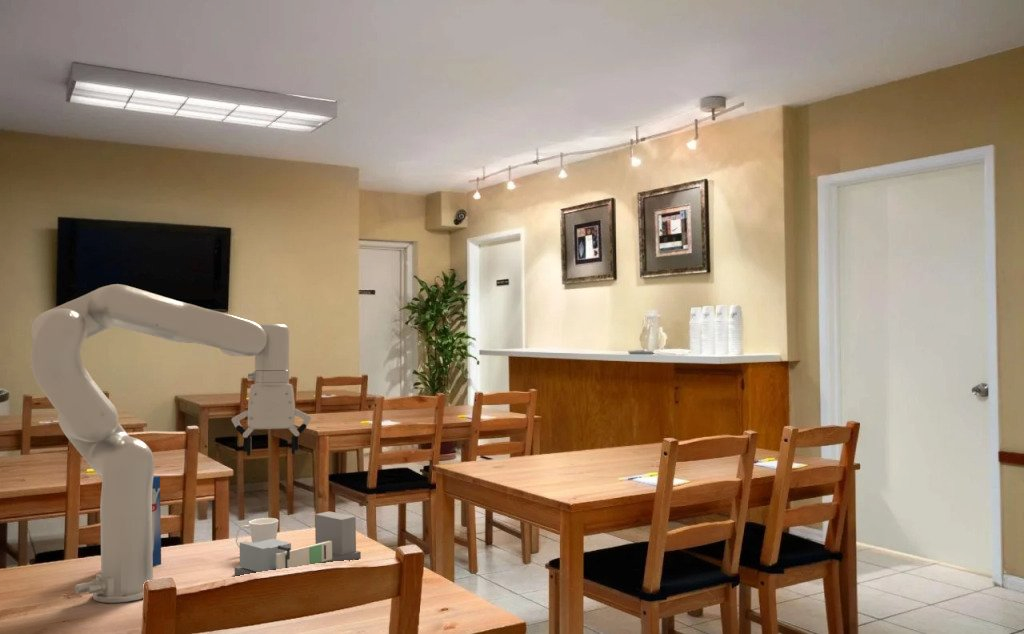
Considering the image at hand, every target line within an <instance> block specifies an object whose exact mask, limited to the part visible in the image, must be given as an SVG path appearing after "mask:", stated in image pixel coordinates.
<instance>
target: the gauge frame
mask: <svg viewBox="0 0 1024 634" xmlns="http://www.w3.org/2000/svg"><path fill="white" fill-rule="evenodd" d="M314 522H315V523H314V528H315V531H314V532H315V534H314V535H315V544H311V545H307V546H302V547H299V548H294V549H291V550H290V559H289V560H288V559H287V551H286V552H282V553H277V554H276V569H282V568H289V567H297V566H302V565H309V564H315V563H326V562H333V561H344V560H352V561H354V560H353V559H356V560H359V559H361V557H362V556H361V553H362V552H361V551H359V550H357V531H356V530H357V529H356V528H357V527H356V523H357V522H356V516H354V515H350V514H349V515H348V514H345V513H344V514H343V513H338V512H333V511H330V510H329V511H323V512H319V513H315V514H314ZM276 569H274V570H276ZM250 573H256V571H253V570H249V569H246V568H243V567H240V565H238V566H235V567H234V575H236V576H239V575H244V574H250Z"/></svg>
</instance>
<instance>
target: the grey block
mask: <svg viewBox="0 0 1024 634" xmlns="http://www.w3.org/2000/svg"><path fill="white" fill-rule="evenodd" d="M239 544H240V548H239V566H240V567H243V568H246V569H249V570H253V571H256V572H262V571H268V570H274V569H276V554H277V553H282V552H286V551H287V559H288V560H289V559H290V550H292V543H291V542H288V541H285V540H281V539H277V538H276V539H269V540H264V541H260V542H256V543H252V541H251V542H250V541H247V540H246V541H239Z"/></svg>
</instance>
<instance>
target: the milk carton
mask: <svg viewBox="0 0 1024 634" xmlns="http://www.w3.org/2000/svg"><path fill="white" fill-rule="evenodd" d="M161 513H162V512H161V476H158V475H154V477H153V485H152V545H153V567H156V566H159V565H162V528H161V527H162V525H161V523H162V522H161V520H162V519H161V517H162V516H161Z"/></svg>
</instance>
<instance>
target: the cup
mask: <svg viewBox="0 0 1024 634" xmlns="http://www.w3.org/2000/svg"><path fill="white" fill-rule="evenodd" d="M242 529H249V532H250V538H251V542H252V543H256V542H260V541H264V540H269V539H276V540H277V535H278V529H279V520H278V519H277V518H274V517H263V518H255V519H252V520H249V521H248V524H246V525H242V526H240V527H239V529H238V530H236V531H237V532H236V535H235V542H236V543H235V544H236V546H237V547H238V548H239V549H240V541H239V533H240V531H241V530H242Z"/></svg>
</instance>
